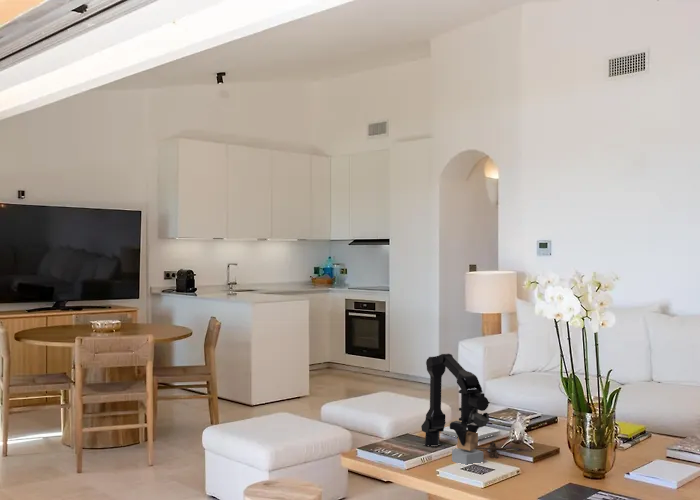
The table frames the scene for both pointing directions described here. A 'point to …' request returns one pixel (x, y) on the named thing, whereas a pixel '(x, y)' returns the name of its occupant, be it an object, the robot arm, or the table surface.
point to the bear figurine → (492, 449)
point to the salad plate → (483, 429)
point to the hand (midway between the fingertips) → (467, 443)
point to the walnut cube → (469, 441)
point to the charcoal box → (467, 456)
